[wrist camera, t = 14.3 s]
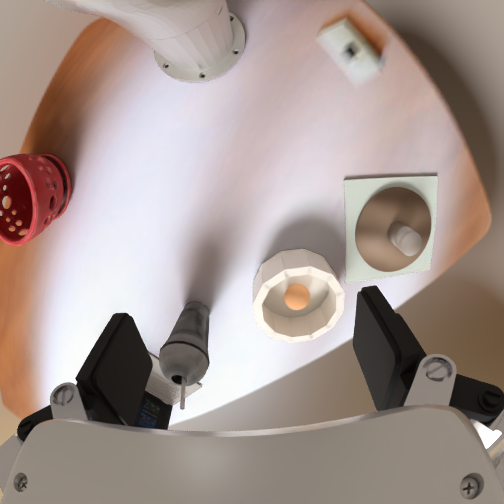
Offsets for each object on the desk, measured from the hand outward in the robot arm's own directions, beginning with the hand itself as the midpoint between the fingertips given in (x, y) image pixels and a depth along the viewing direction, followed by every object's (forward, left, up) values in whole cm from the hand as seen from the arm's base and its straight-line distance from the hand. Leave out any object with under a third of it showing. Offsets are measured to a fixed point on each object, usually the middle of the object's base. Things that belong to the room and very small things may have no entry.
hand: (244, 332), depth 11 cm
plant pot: (-7, -33, -31) cm, 45 cm away
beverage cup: (+20, -12, -31) cm, 38 cm away
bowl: (+17, +5, -30) cm, 35 cm away
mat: (+9, +22, -30) cm, 39 cm away
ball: (+17, +5, -27) cm, 33 cm away
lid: (+9, +22, -30) cm, 38 cm away
